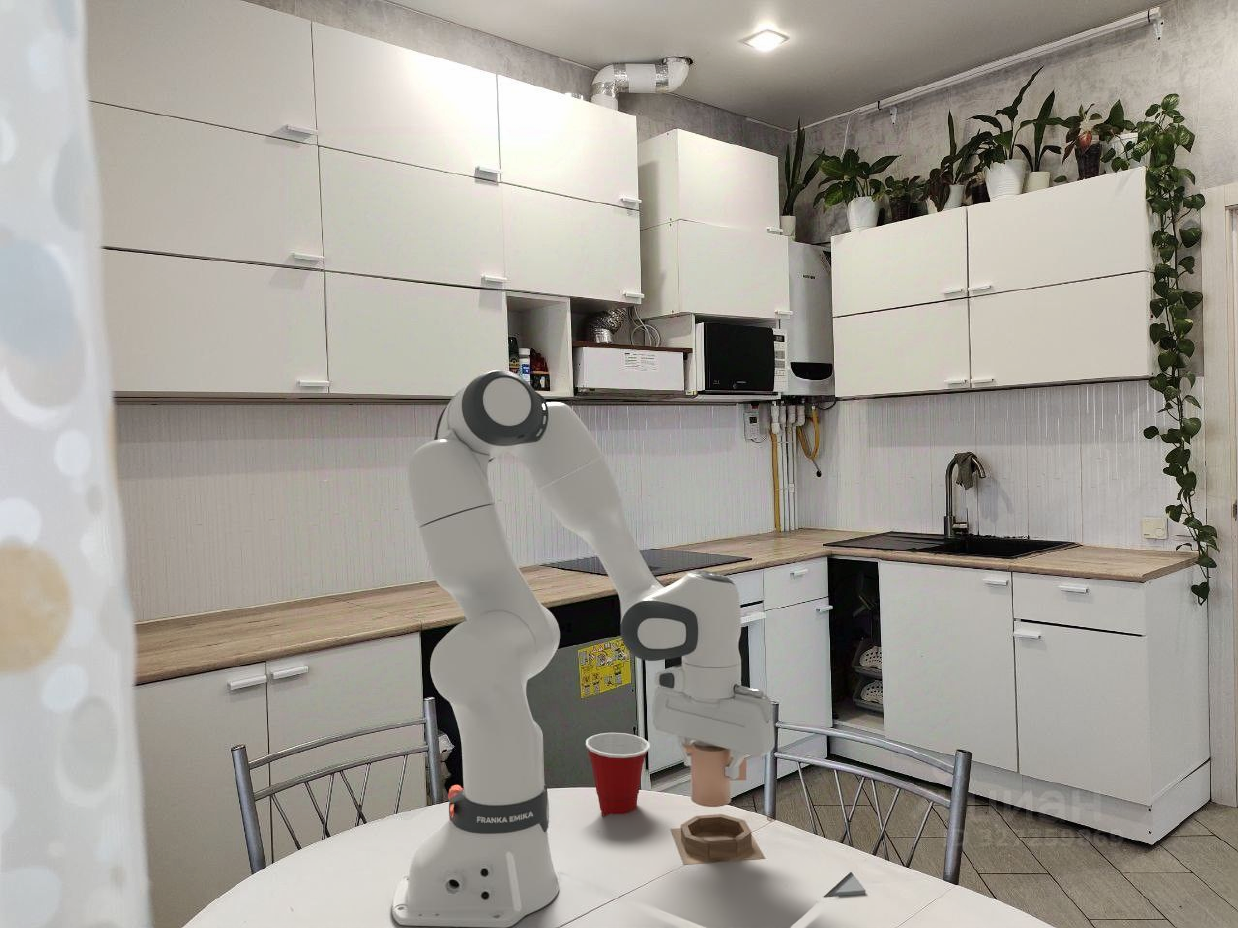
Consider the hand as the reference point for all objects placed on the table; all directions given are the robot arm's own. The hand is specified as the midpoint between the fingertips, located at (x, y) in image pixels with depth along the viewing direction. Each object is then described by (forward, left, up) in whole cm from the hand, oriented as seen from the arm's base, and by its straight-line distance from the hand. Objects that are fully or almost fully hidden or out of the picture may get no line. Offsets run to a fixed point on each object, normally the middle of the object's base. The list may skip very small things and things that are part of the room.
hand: (711, 771), depth 131 cm
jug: (0, 0, -4) cm, 4 cm away
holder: (+1, 0, -12) cm, 12 cm away
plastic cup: (-12, +16, -12) cm, 24 cm away
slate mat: (+13, -11, -12) cm, 20 cm away
